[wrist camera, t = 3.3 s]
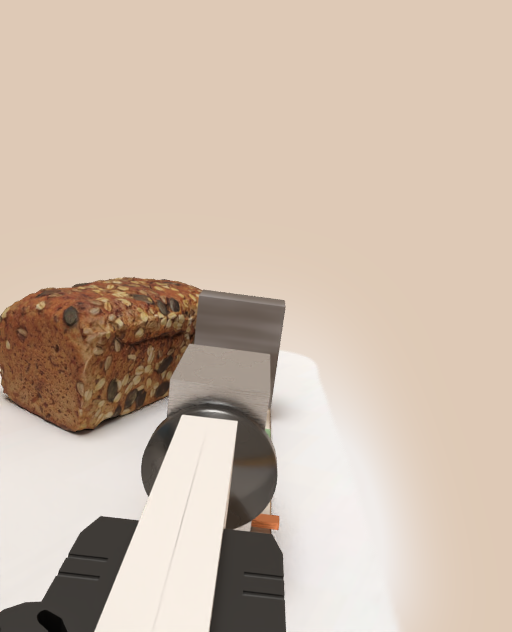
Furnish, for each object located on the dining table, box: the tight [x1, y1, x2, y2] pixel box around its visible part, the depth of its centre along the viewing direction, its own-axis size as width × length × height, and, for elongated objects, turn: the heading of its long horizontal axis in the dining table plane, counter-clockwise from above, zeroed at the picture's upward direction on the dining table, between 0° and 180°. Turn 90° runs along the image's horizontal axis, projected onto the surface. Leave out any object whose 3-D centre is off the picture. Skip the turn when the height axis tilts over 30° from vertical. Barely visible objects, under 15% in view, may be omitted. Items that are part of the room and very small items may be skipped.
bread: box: [0, 277, 202, 432], centre depth 42 cm, size 19×11×10 cm, turn 150°
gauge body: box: [194, 290, 285, 534], centre depth 30 cm, size 22×7×10 cm, turn 178°
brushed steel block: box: [141, 344, 279, 532], centre depth 23 cm, size 6×7×9 cm
